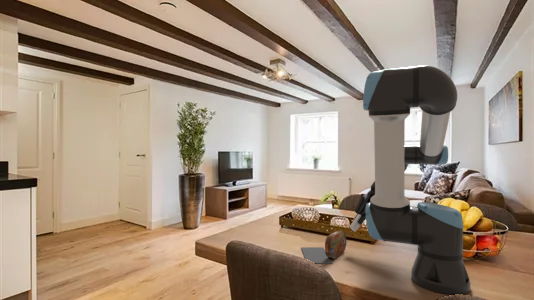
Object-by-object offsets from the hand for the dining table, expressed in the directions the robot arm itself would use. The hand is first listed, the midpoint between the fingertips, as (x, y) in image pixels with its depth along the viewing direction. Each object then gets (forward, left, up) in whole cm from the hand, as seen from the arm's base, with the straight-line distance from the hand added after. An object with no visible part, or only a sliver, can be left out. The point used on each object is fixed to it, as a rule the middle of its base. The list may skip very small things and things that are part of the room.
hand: (352, 229), depth 112 cm
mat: (-5, +16, -9) cm, 18 cm away
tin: (-5, +8, -9) cm, 13 cm away
